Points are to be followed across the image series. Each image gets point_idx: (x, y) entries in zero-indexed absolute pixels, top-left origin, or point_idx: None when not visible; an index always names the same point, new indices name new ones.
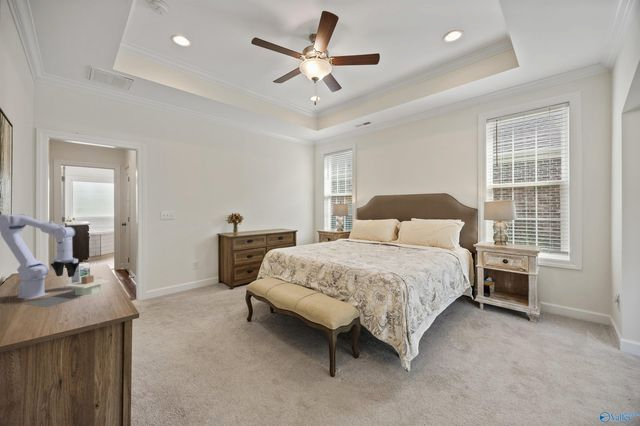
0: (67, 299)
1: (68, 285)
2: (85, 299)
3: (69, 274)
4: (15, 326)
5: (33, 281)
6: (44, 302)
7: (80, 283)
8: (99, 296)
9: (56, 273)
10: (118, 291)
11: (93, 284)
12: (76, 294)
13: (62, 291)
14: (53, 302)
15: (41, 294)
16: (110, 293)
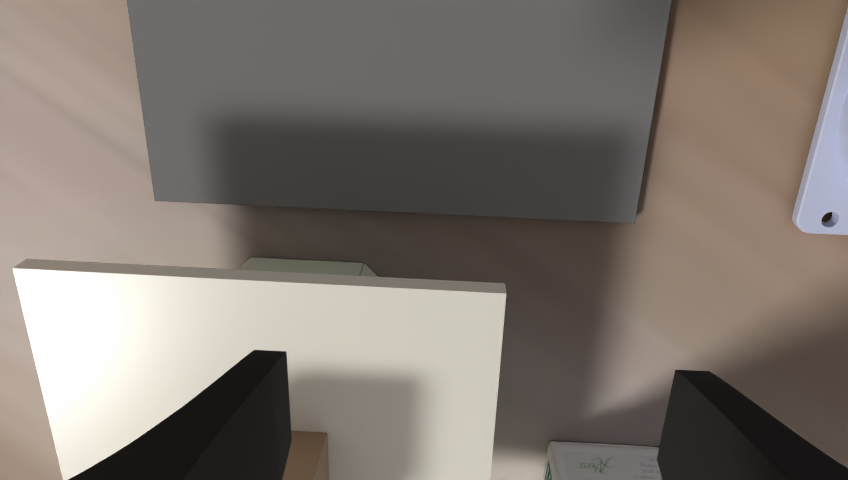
0: (226, 74)
1: (412, 298)
2: (31, 156)
3: (211, 390)
4: None
5: None
6: None
7: (337, 425)
8: (3, 288)
9: (736, 410)
10: (9, 473)
11: (54, 415)
12: (336, 268)
13: (739, 366)
14: None
15: (845, 136)
16: (11, 401)
